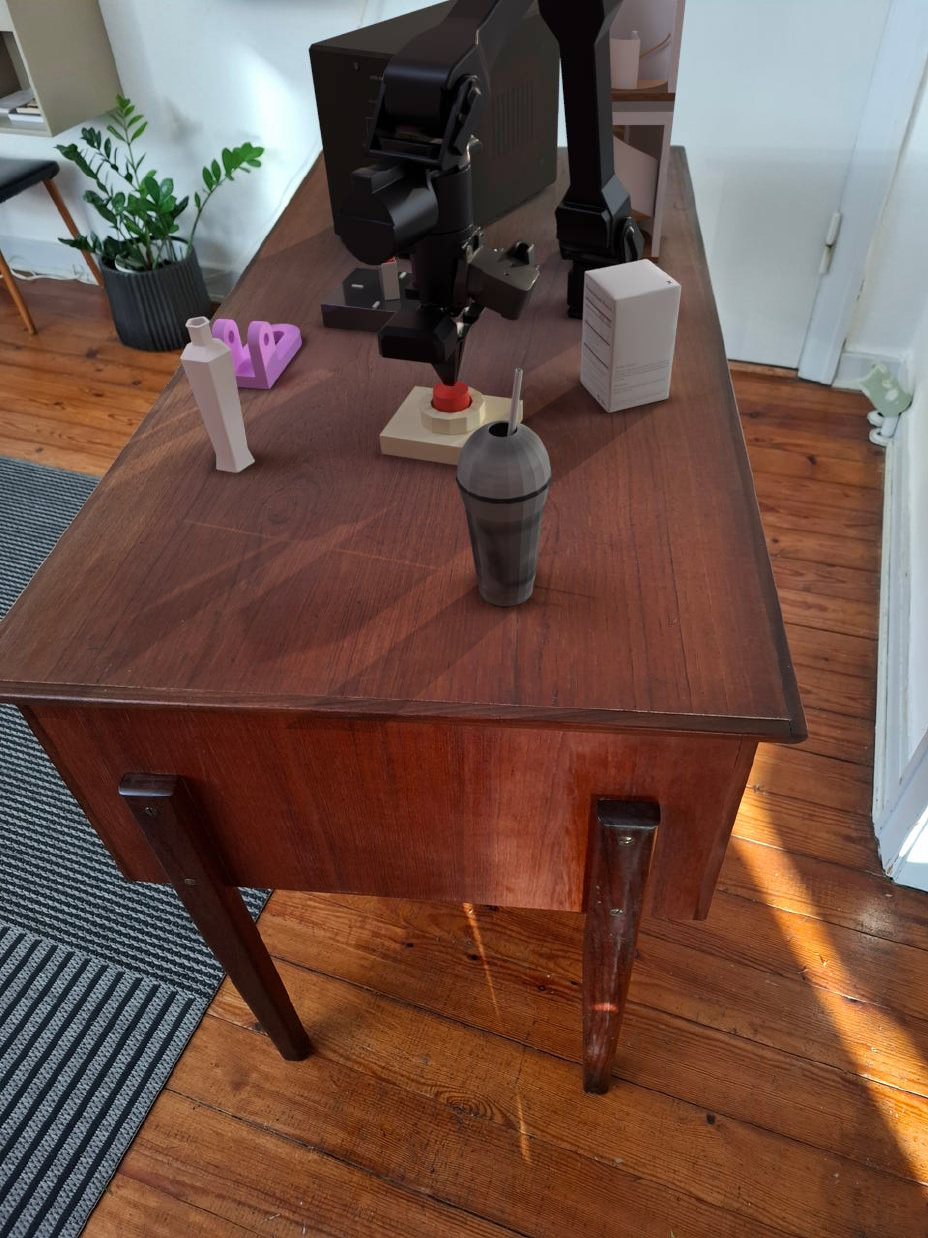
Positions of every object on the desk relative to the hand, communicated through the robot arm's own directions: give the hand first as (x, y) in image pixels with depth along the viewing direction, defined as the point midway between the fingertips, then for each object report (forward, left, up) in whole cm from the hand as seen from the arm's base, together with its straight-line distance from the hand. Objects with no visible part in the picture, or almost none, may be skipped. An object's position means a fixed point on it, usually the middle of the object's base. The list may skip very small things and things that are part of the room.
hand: (450, 384), depth 88 cm
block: (0, 0, -6) cm, 6 cm away
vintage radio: (+22, -60, -6) cm, 64 cm away
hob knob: (+17, -25, -3) cm, 30 cm away
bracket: (+27, -10, -6) cm, 29 cm away
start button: (0, 0, -2) cm, 2 cm away
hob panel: (+17, -25, -6) cm, 31 cm away
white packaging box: (-15, -13, -6) cm, 21 cm away
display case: (-7, -49, -6) cm, 50 cm away
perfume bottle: (+20, +10, -6) cm, 23 cm away
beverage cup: (-12, +21, -6) cm, 25 cm away
